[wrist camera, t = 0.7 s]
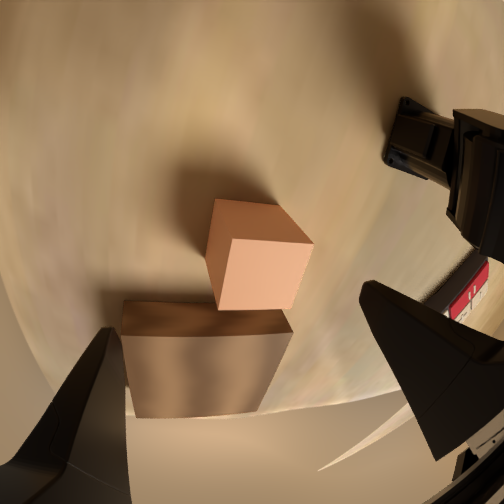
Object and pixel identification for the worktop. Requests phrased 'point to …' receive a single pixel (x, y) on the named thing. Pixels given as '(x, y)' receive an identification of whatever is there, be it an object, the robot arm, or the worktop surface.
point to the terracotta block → (255, 256)
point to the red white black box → (462, 289)
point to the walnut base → (200, 357)
